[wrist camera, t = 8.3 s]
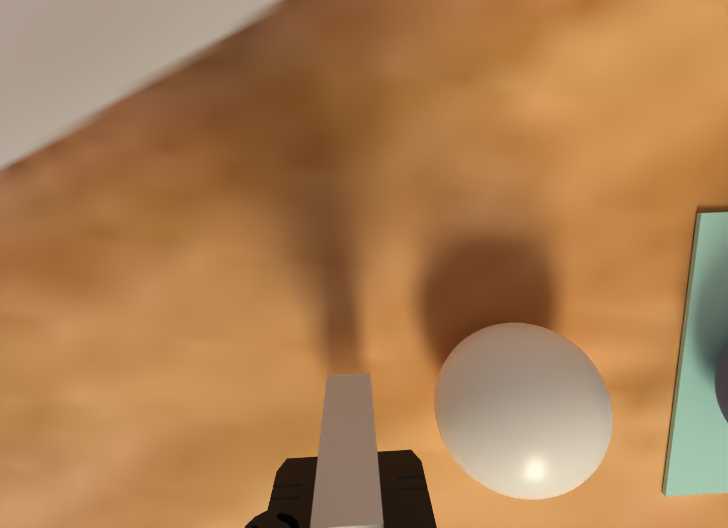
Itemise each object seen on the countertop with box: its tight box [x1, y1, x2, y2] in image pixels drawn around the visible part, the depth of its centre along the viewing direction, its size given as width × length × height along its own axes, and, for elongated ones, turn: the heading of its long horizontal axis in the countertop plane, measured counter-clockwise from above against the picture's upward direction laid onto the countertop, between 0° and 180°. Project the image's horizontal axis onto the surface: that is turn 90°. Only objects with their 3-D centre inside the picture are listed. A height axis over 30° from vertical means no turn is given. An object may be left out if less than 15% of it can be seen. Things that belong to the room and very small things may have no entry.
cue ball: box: [434, 323, 613, 499], centre depth 15 cm, size 6×6×6 cm
